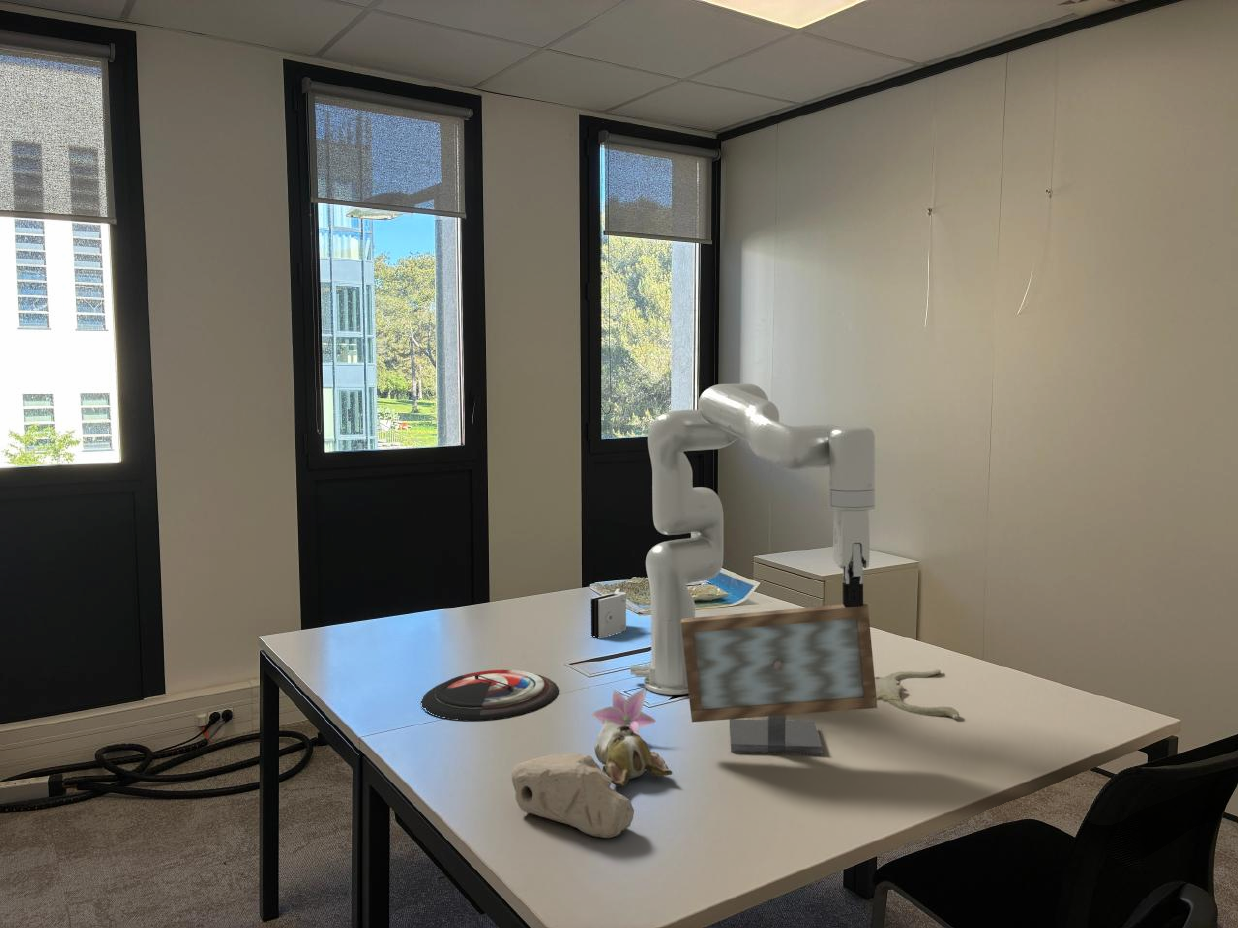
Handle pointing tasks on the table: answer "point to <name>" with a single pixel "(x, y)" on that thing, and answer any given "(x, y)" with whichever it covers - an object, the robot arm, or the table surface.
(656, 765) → the ceramic sculpture
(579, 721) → the table surface
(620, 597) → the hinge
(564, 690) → the table surface
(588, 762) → the decorative stone
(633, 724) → the lily
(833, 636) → the picture frame
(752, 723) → the frame stand
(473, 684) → the wall clock
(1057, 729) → the table surface
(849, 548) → the robot arm
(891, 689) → the decorative wall piece
